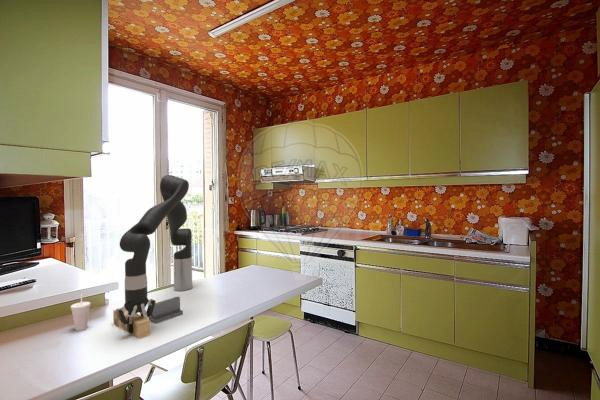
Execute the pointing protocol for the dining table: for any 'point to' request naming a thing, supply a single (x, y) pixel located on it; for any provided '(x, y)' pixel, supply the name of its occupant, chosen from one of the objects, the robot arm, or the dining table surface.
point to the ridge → (166, 310)
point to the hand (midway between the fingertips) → (137, 330)
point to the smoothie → (80, 314)
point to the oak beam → (134, 324)
